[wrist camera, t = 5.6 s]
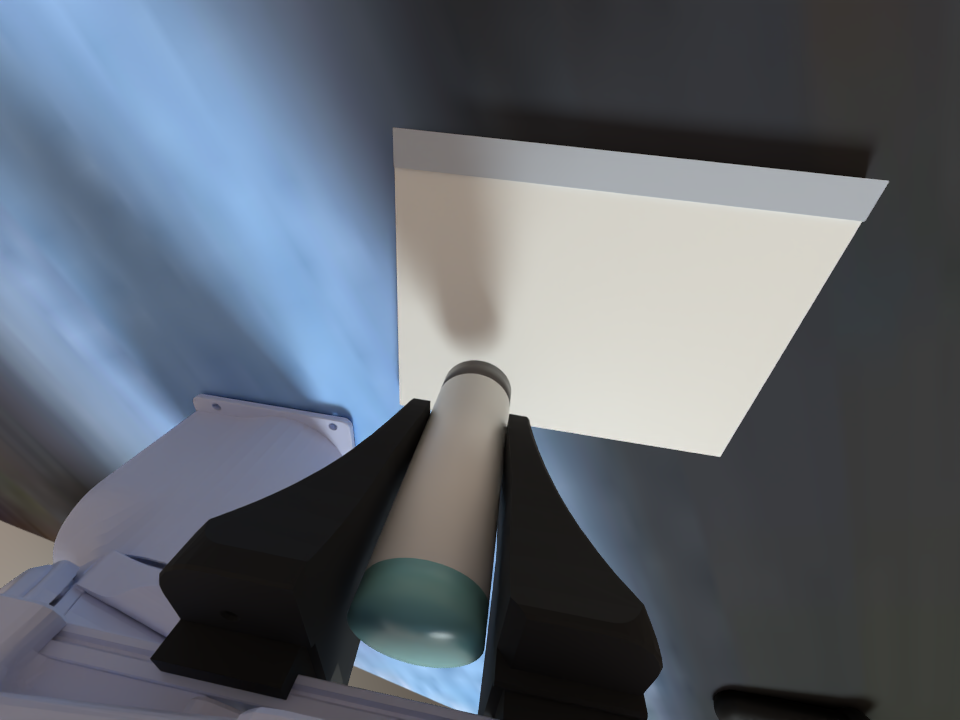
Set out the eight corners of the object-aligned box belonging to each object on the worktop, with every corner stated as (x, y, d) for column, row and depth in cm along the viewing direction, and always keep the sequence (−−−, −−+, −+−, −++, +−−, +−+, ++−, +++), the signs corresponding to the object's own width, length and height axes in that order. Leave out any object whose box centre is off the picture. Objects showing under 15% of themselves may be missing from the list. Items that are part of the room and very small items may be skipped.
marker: (442, 410, 15) (353, 650, 8) (445, 355, 14) (340, 583, 6) (506, 421, 15) (477, 678, 8) (515, 365, 14) (492, 614, 6)
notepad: (404, 396, 19) (399, 405, 18) (401, 129, 13) (392, 127, 12) (712, 445, 18) (721, 458, 17) (865, 179, 12) (889, 180, 11)
